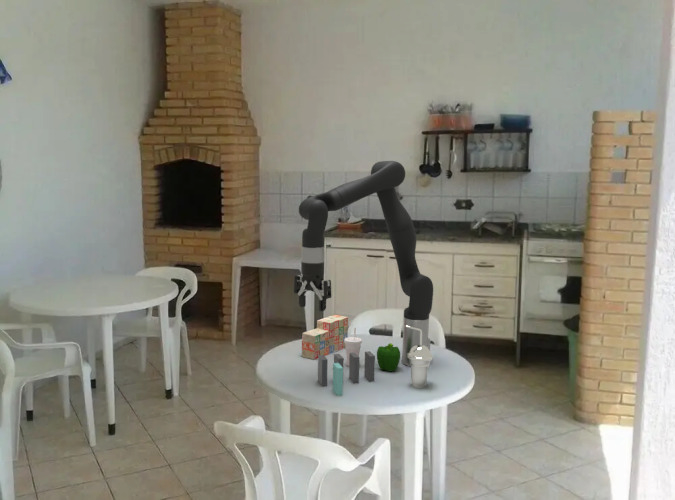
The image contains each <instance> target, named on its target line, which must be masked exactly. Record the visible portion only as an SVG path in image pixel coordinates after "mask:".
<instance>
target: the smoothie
mask: <svg viewBox="0 0 675 500" xmlns="http://www.w3.org/2000/svg"><path fill="white" fill-rule="evenodd" d="M344 342H345V347H346V348H345V355H346V356H345V358H346V364H347V365H346V366H348V367H349V357H350V353H356V354H357V355H358V356H359V357H360V352H361V345H362V343H363V340H362V338H360V337H356V327H354V328H353V336H348V337H347V338H345V339H344Z"/></svg>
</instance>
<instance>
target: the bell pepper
mask: <svg viewBox="0 0 675 500" xmlns="http://www.w3.org/2000/svg"><path fill="white" fill-rule="evenodd" d="M376 360H377V361H376V362H377V365H378V367H379V369H380V370H382V371H386V372H395V371H396V370H397V368H398V367H399V364H400V360H401V351H400V348H399V347H398V346H394V344H393V343H391V342H390V343H388V344H387V345H385V346H382V345H381V346H378V348H377V351H376Z"/></svg>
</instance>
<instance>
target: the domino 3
mask: <svg viewBox="0 0 675 500" xmlns="http://www.w3.org/2000/svg"><path fill="white" fill-rule="evenodd" d="M343 389H344V366H343V367H342V366H341V365H340V364H339V363H334V362H333V363H332V391H333V392H334V394H335V395H336V397H338V396H339V397H340V396H343V395H344V394H343V391H344V390H343Z"/></svg>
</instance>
